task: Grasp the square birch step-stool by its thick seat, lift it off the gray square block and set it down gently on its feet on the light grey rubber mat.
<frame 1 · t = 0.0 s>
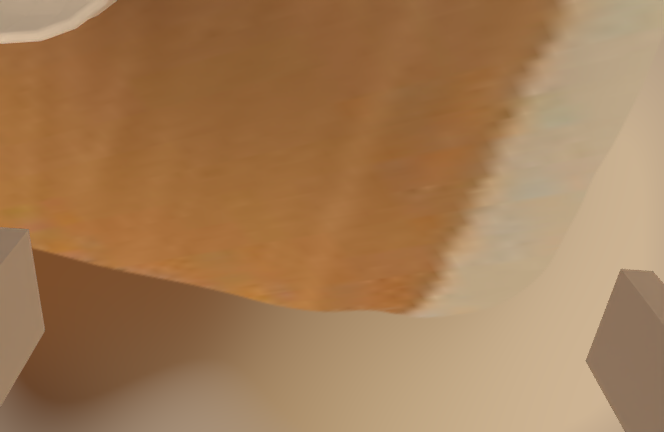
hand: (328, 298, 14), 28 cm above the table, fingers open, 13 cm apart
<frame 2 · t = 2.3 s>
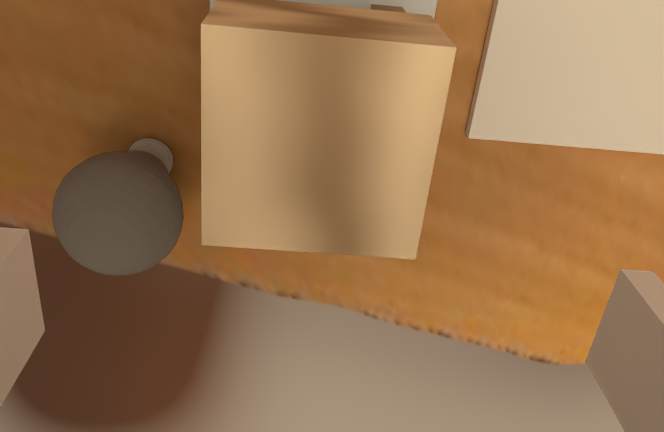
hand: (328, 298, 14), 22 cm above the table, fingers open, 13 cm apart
gray square block: (316, 49, 34), on the table
stool: (317, 77, 29), point 5 cm above the table, touching gray square block
mat: (620, 20, 33), on the table
light bulb: (153, 154, 36), on the table
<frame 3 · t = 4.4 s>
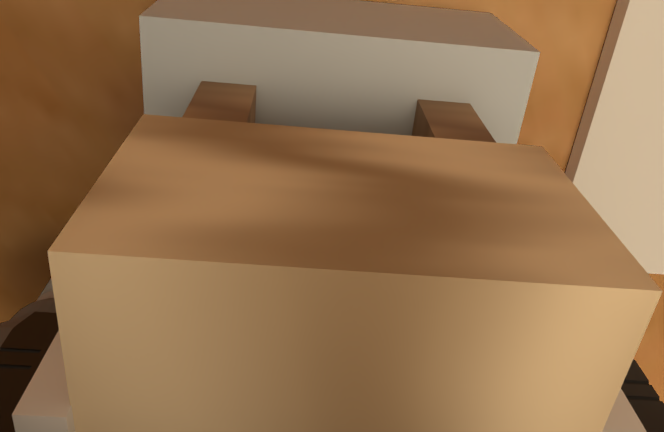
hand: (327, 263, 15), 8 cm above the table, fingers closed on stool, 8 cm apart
gray square block: (323, 144, 22), on the table
stool: (325, 210, 18), point 5 cm above the table, touching gray square block, gripper
light bulb: (85, 285, 25), on the table
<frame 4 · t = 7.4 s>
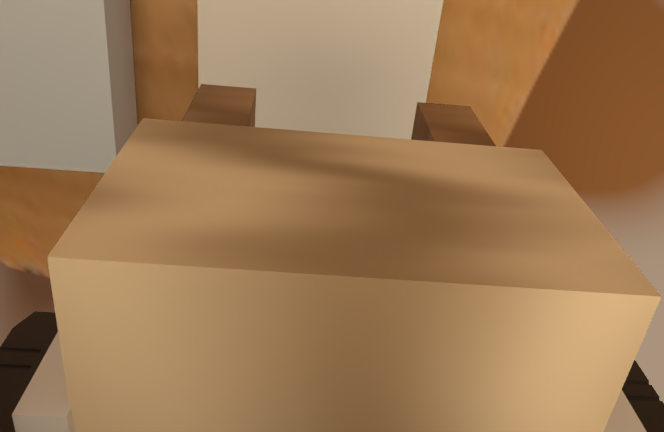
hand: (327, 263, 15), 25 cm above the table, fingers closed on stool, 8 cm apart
gray square block: (49, 57, 38), on the table
stool: (325, 213, 18), point 22 cm above the table, touching gripper
mat: (318, 30, 37), on the table
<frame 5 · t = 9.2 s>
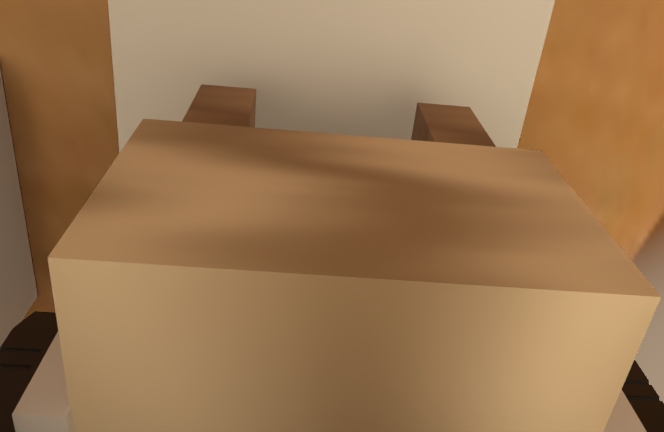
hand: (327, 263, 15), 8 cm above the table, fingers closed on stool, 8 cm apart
stool: (325, 213, 18), point 6 cm above the table, touching gripper
mat: (320, 136, 23), on the table
when the fingers open (5 cm above the table, at t = 10.6 s): stool drops 2 cm, resting on mat.
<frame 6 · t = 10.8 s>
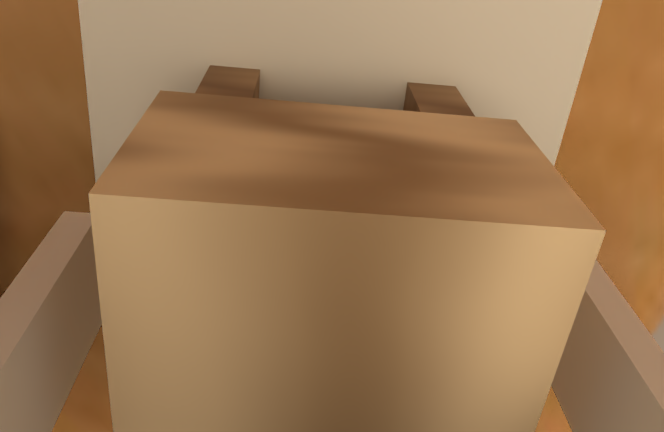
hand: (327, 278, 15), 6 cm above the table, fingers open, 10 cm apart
stool: (323, 186, 19), point 1 cm above the table, touching mat
mat: (324, 173, 20), on the table
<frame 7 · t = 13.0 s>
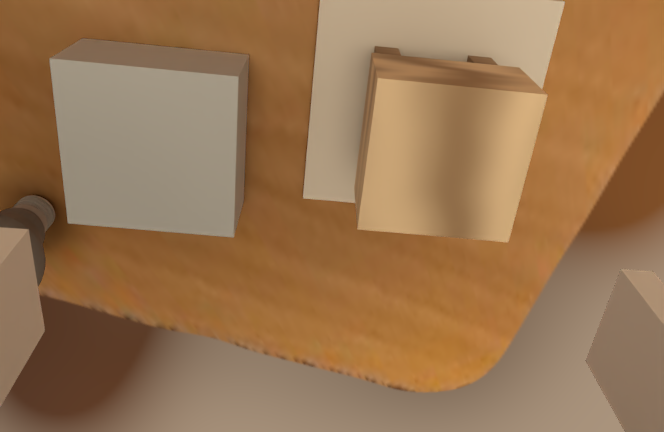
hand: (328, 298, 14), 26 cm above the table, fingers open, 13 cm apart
gray square block: (168, 124, 40), on the table
stool: (423, 108, 39), point 1 cm above the table, touching mat
mat: (422, 103, 39), on the table
light bulb: (40, 207, 43), on the table
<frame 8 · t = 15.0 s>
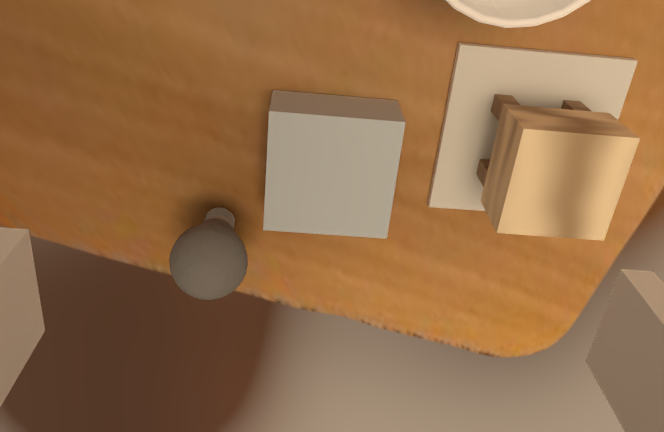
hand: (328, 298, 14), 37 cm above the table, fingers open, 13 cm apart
gray square block: (329, 152, 52), on the table
stool: (526, 138, 51), point 1 cm above the table, touching mat
mat: (524, 134, 52), on the table
light bulb: (221, 216, 55), on the table
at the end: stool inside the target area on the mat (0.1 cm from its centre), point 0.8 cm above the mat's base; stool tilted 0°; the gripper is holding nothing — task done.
